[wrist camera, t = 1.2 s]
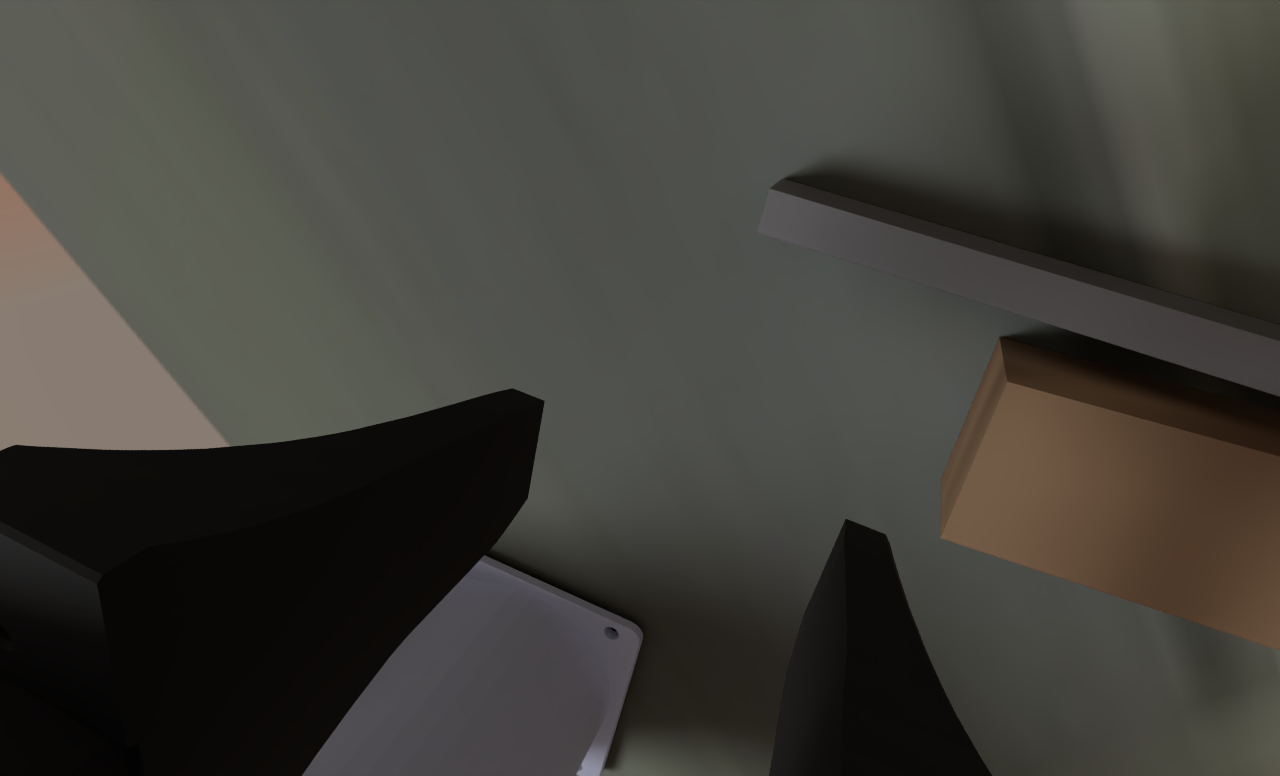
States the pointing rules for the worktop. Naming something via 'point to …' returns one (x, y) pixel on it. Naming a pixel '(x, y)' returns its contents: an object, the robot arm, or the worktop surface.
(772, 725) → the worktop surface
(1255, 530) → the brown rectangular block
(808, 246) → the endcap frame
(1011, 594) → the worktop surface
